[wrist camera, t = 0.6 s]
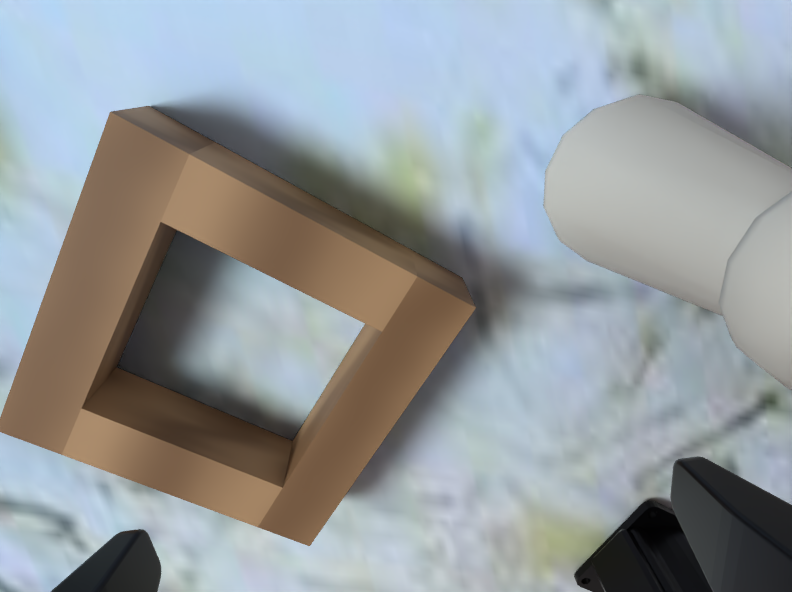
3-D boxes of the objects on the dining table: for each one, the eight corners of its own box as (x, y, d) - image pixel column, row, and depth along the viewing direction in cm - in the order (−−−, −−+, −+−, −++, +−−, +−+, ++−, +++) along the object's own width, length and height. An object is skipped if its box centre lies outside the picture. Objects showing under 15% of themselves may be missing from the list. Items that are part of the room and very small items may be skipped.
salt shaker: (573, 66, 19) (938, 57, 7) (703, 128, 20) (1218, 215, 8) (500, 215, 21) (681, 411, 9) (622, 264, 22) (930, 497, 10)
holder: (462, 278, 22) (475, 307, 19) (315, 495, 26) (309, 546, 23) (148, 105, 18) (110, 111, 16) (41, 386, 23) (-5, 430, 20)
